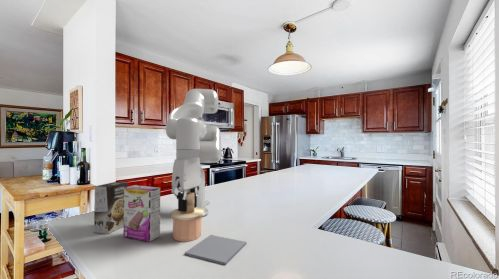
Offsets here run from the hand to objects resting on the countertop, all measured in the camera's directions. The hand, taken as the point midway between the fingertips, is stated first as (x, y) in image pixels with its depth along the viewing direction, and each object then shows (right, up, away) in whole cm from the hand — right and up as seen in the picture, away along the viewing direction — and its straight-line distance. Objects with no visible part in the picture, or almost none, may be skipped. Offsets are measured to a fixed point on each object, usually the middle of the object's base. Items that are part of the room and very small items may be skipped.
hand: (187, 208), depth 76 cm
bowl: (0, -9, 0) cm, 9 cm away
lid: (0, -2, 0) cm, 2 cm away
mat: (+11, -9, -10) cm, 17 cm away
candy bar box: (-15, -9, -2) cm, 17 cm away
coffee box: (-29, -9, +6) cm, 31 cm away
